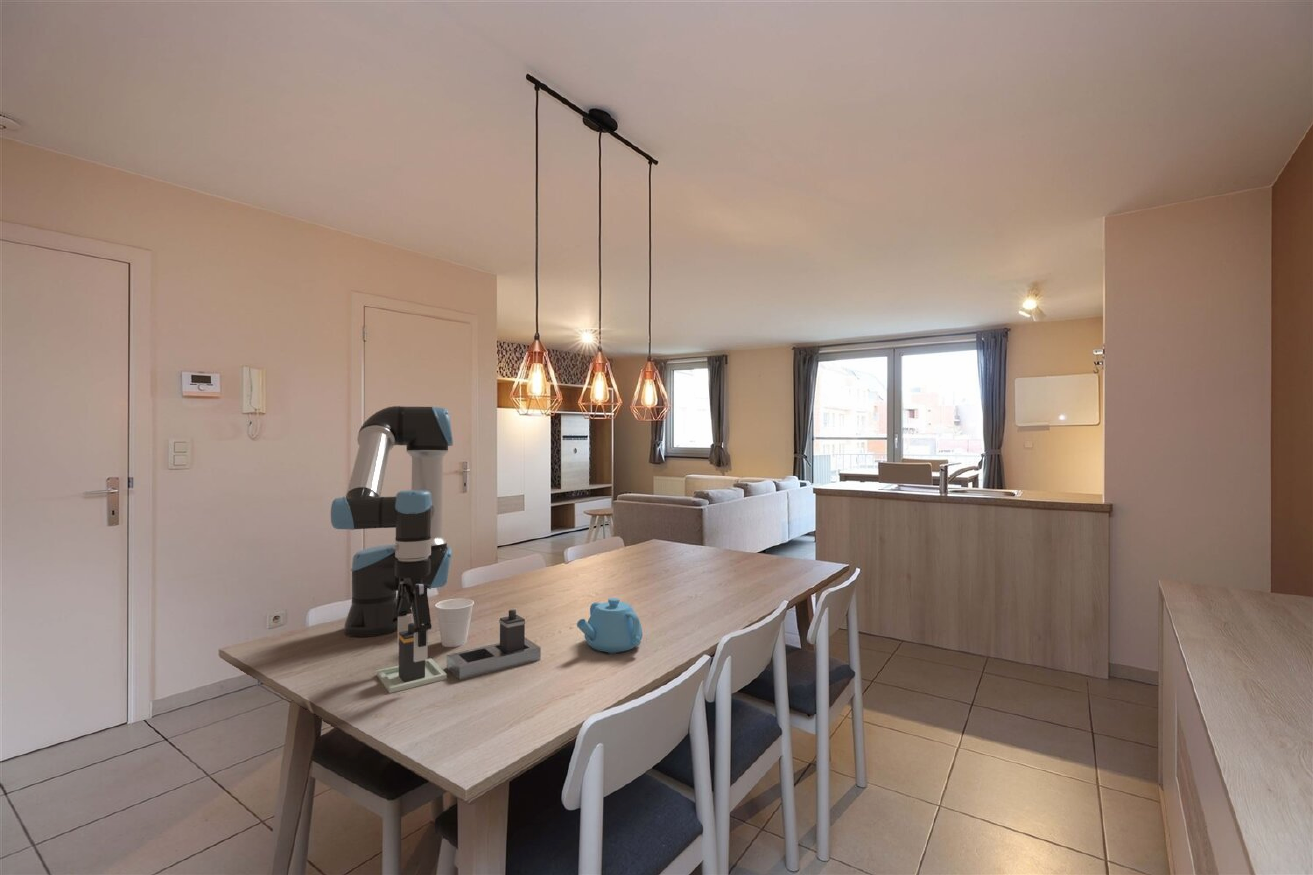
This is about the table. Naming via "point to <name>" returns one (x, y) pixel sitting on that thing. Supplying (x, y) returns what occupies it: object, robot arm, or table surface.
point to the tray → (396, 684)
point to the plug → (409, 657)
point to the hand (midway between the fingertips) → (411, 651)
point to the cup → (454, 621)
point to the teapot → (612, 627)
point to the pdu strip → (490, 659)
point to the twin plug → (512, 633)
